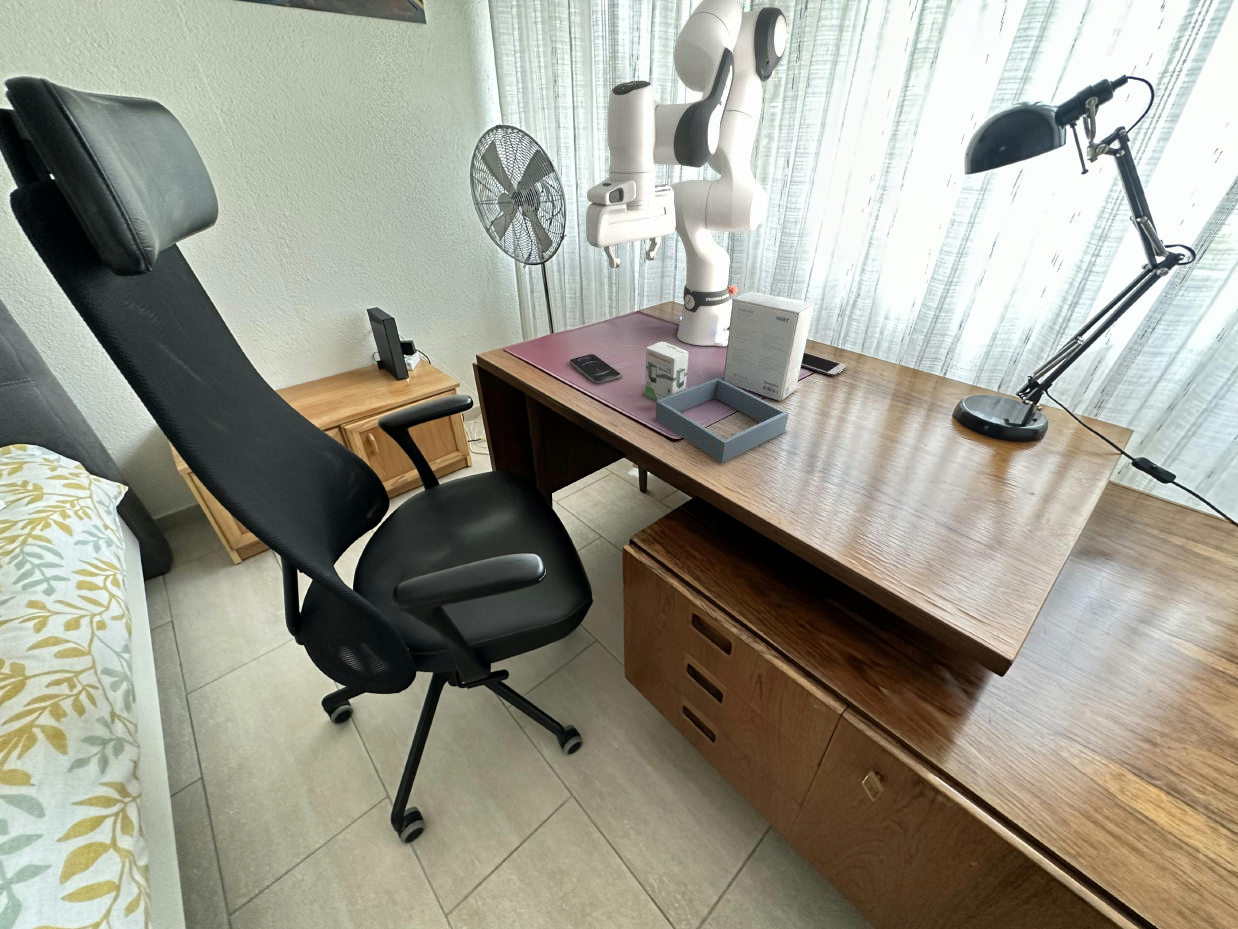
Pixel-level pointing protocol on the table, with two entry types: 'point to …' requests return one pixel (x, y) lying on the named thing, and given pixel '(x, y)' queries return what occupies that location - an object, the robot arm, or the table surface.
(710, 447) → the tub
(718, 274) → the robot arm
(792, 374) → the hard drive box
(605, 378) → the smartphone
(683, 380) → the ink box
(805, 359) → the smartphone
